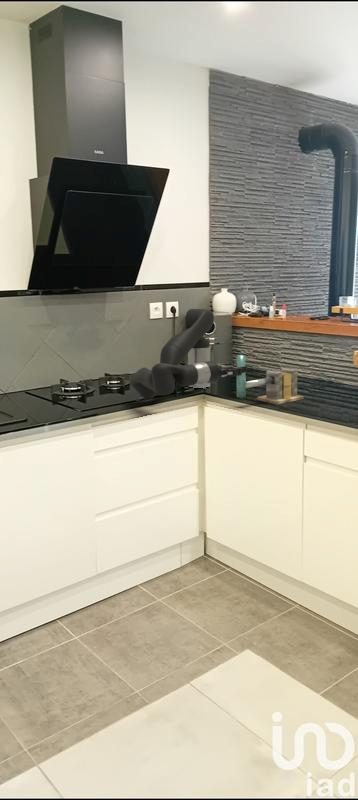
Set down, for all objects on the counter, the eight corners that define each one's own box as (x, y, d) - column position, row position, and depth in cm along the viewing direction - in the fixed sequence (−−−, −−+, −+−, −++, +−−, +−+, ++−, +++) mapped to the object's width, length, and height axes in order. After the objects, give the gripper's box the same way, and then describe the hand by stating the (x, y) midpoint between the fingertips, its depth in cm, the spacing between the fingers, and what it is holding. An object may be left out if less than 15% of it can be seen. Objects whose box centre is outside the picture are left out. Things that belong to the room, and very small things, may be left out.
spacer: (283, 398, 234) (283, 374, 232) (270, 395, 240) (270, 372, 238) (291, 397, 236) (291, 373, 234) (278, 394, 242) (278, 371, 240)
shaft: (240, 397, 224) (240, 356, 221) (235, 396, 226) (234, 355, 223) (276, 391, 234) (276, 351, 230) (270, 389, 236) (270, 350, 233)
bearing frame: (277, 404, 230) (277, 375, 227) (257, 399, 238) (257, 371, 236) (303, 398, 237) (304, 370, 235) (283, 394, 246) (283, 367, 244)
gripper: (191, 380, 221) (226, 375, 230) (215, 386, 209) (252, 380, 218) (190, 359, 219) (226, 355, 228) (215, 364, 207) (252, 359, 216)
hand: (238, 367), depth 223 cm, fingers open, 8 cm apart
